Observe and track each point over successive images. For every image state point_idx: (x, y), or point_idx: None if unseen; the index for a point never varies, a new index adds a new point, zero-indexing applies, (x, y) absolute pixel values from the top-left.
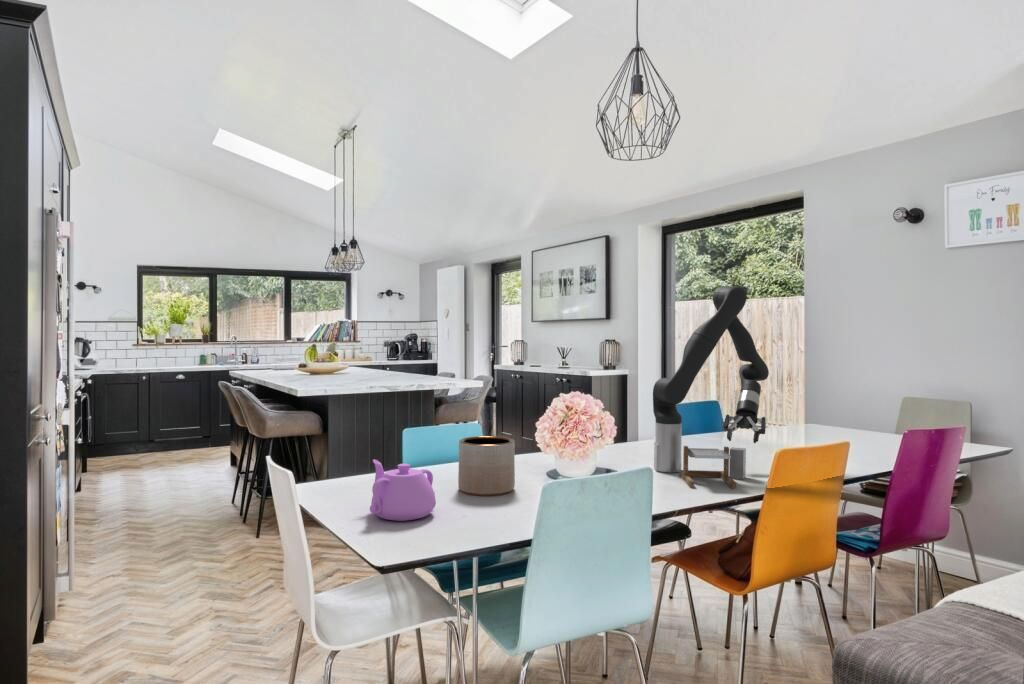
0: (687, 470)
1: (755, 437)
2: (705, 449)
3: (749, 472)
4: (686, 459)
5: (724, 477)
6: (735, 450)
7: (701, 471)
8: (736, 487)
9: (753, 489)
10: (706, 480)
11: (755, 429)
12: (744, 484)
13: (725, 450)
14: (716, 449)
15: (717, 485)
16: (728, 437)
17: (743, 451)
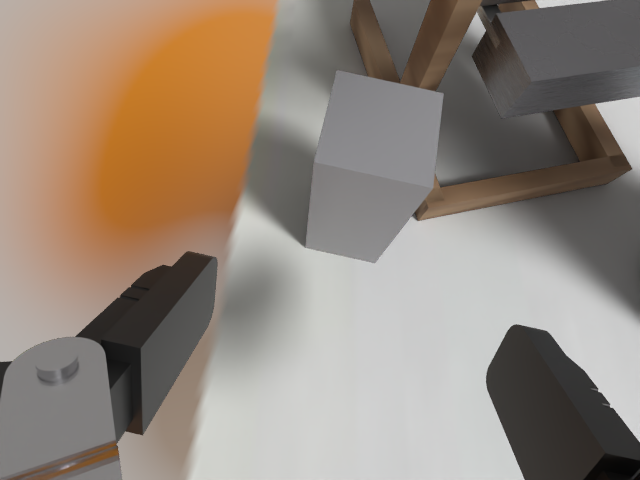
0: None
1: (175, 265)
2: (603, 38)
3: (272, 400)
4: None
5: None
6: (396, 87)
7: (530, 171)
8: (351, 18)
9: (286, 32)
10: (478, 128)
11: (93, 377)
12: (317, 99)
13: None
14: (534, 54)
15: None
16: (539, 331)
17: (334, 79)
